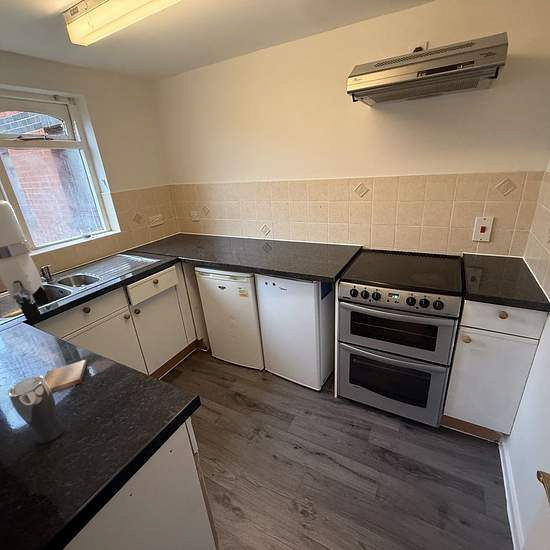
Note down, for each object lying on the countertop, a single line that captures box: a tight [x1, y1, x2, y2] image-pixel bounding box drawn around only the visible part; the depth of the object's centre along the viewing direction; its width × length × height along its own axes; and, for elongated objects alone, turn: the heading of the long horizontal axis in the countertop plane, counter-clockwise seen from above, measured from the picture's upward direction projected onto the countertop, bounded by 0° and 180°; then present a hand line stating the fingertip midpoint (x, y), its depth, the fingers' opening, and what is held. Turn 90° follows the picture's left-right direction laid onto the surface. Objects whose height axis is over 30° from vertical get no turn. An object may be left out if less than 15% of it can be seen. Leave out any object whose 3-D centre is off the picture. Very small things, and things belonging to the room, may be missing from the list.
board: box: [43, 359, 87, 393], centre depth 94 cm, size 11×11×2 cm
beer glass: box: [7, 375, 67, 445], centre depth 71 cm, size 7×7×15 cm
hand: (39, 310), depth 81 cm, fingers open, 9 cm apart
